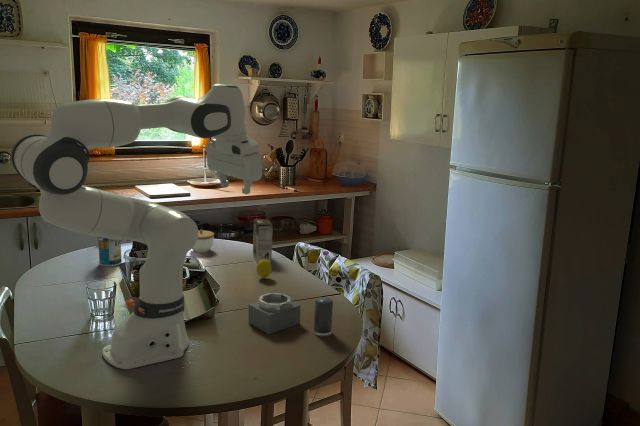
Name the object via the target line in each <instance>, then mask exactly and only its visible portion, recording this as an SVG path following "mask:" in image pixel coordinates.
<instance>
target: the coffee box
mask: <svg viewBox="0 0 640 426" xmlns="http://www.w3.org/2000/svg"><path fill="white" fill-rule="evenodd" d="M252 221H253V222H252V223H253V226H252V227H253V229H252V231H253V233H252V234H253V235H252V237H253V238H252V246H253V247H252V256H253V259H254V260H255V262H256V263H257V264H258V262H259V261H260V260H261V259H263V258H265V259H267V260H269V261H270V263H272V256H273V255H272V252H273V229H274V228H273V225H274V224H273V223H272V222H271V221H270V220H269V219H268V218H267V219H266V218H265V219H264V218H256V219H255V218H253V219H252Z"/></svg>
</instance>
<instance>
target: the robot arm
mask: <svg viewBox="0 0 640 426" xmlns="http://www.w3.org/2000/svg"><path fill="white" fill-rule="evenodd" d="M245 108H246V107H245V101H244V97H243V92H242V91H241V88H240V87H239V86H237V85H235V84H233V85H232V84H226V83H213V84H212V86H211V88H210V89H209V91H208V92H207V93H205V94H204V95H203V96H202V97H200V98H198V99H196V98H192V97H189V96H187V95H177V96H176V95H175V96H173V97H171V98H169V99H167V100H165V101H163V102H160V103H146V104H145V103H142V104H141V103H140V104H134V103H132V102H131V101H126V100H121V99H113V98H98V99H97V98H96V99H95V98H94V99H93V98H91V99H85V100H76V101H70V102H66V103H63V104H60V105H58V106H57V107H55V108H54V110H53V111H52V113H51V117H50V130H49V133H48V134H46V135H44V134H29V135H26V136H24V137H22V138H20V139H19V140H18V141H17V142H16V143H14V145H13V147H12V149H11V153H10V160H11V163H12V166H13V168H14V170H15V171H16V172H17V174H18V175H19V176H20V177H21V178H22V179H23V180H25V182H27V184H29V185H30V186H31V187H32V188H33V189H38V190H39V191H40V198H39V203H38V210H39V211H38V213H40V215H39V216H41V218H42V220H44V221H45V223H48V224H50V225H53V226H55V227H58V228H61V229H63V230H66V231H70V232H74V233H78V234H83V235H86V236H91V237H97V238H98V237H102V238H107V239H112V240H118V239H121V241H122V240H125V241H132V242H137V243H138V242H139V243H141V244H144V245H146V246H147V250H148V251H147V256H146V260H145V263H143V264H142V265H141V266H140V269H139V270H138V271H139V272H138V275H139V276H138V278H139V295H138V297H137V301H135V300H133V299H132V298H129V299H128V300H127V301H126V302H125V304H126V306H127V308H128V307H129V308H130V309H133V312H132V313H131V314H130V315H129V316H127V317H126V318H125V320H124V321H122V322H121V323H119V325H118V326H117V327H115V328H114V330H113V333H112V336H111V343H110V344H107V345H105V346H104V347H103V348H102V356H103V358H104V360H105V361H106V362H107V363H109V364H110V365H112V366H113V367H114V368H118V369H121V370H131V369H135V368H139V367H144V366H148V365H153V364H157V363H160V362H165V361H170V360H173V359H178V358H179V359H180V358H181V357H183V355H184V352H185V351H186V349H188V347H189V345H190V340H189V339H190V338H189V337H188V335H187V329H186V324H185V318H184V317H185V316H184V312H185V294H184V293H183V279H184V278H183V271H184V264H185V260H186V258H187V255H188V253H189V251H191V250H192V248H193V247H194V245H195V244H196V242H197V239H198V231H199V228H198V226H197V223H196V222H195V221H194V220H193V219H191V218H190V216H188V214H186V213H185V212H182V211H179V210H177V209H174V208H170V207H168V206H165V205H162V204H159V203H157V202H153V201H148V200H144V199H139V198H135V197H131V196H125V195H122V194H118V193H115V192H111V191H106V190H102V189H99V188H95V187H91V186H90V187H89V186H88V185H84V184H85V182H86V179H87V176H88V171H89V170H88V169H89V168H88V166H89V165H88V164H89V161H90V156H91V155H90V150H91V149H92V150H93V149H103V148H105V149H106V148H115V147H120V146H121V147H123V146H126V145H129V144H131V143H132V144H133V143H134V142H135V141H136V140H137V139H138V137H139V135H140V133H141V130H149V129H160V128H161V129H163V128H166V129H169V130H170V131H172V132H176V133H179V134H185V135H188V136H192V137H195V138H199V139H209V141H208V142H207V143H208V144H207V146H208V147H207V148H206V149H207V151H206V165H207V168H208V170H209V171H212V172H216V176H217V178H218V179H219V182H220V187H222V188H224V189H225V188H229V180H227V177H226V176H230V177H233V178H236V179H239V180H243V185H244V186H243V187H241V191H242V194H245V195H249V194H250V193H251V186H252V184H253V182H256V181H259V180H261V178H262V177H263V164H262V158H261V155H260V153H259V152H260V151H261V145H260V144H259V143H258V142H257V141H255V140H254V139H253V138H252V137H250V136H249V135H248V133H247V128H246V126H245V119H246V110H245Z"/></svg>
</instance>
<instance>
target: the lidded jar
mask: <svg viewBox="0 0 640 426" xmlns="http://www.w3.org/2000/svg"><path fill="white" fill-rule="evenodd" d="M214 237H215V233H214V232H213V231H212V230H211V231H210V230H205V229H204V230H203V229H200V230H199V229H198V239H197V242H196V244H195V245H194V247H193V248H192V249H191V250H193V252H194V253H197V254H206V253H208V252H209V251H210V250H211V249H212V247H213V246H214V241H215V239H214Z"/></svg>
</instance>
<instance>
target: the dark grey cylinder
mask: <svg viewBox="0 0 640 426" xmlns="http://www.w3.org/2000/svg"><path fill="white" fill-rule="evenodd" d="M333 307H334V301H333V300H332V299H331V298H330V297H326V296H325V297H324V296H323V297H318V298H316V299H315V302H314V319H313V320H314V321H313V322H314V323H313V334H314V336H317V337H319V338H325V337H330V336H331V335H332V333H333V332H332V328H333V312H334V311H333Z"/></svg>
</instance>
